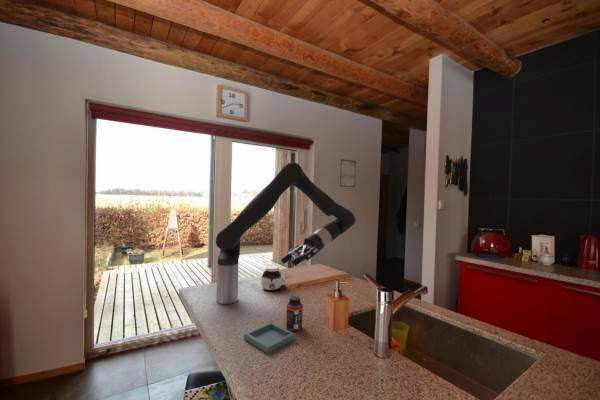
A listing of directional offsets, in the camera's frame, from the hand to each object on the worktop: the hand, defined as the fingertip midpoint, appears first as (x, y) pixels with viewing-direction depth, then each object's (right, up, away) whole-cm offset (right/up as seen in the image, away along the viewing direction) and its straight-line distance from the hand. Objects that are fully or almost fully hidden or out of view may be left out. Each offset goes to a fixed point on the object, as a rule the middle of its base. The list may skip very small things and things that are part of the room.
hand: (287, 262), depth 103 cm
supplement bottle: (+3, -24, -2) cm, 24 cm away
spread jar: (-9, -23, +42) cm, 49 cm away
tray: (-6, -24, -11) cm, 27 cm away
